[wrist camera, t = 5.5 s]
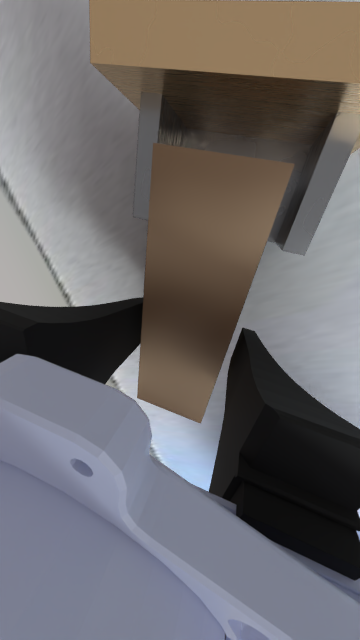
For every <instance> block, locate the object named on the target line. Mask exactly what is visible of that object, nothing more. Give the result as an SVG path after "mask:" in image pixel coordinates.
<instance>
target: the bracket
mask: <svg viewBox="0 0 360 640" xmlns="http://www.w3.org/2000/svg"><path fill="white" fill-rule="evenodd" d="M89 4H90V63H91V64H92V65H93V66H94V67H95V68H96V69H97V70H98V71H99V72H101V73H102V74H103V75H104V76H105V77H106V78H107V79H108V80H109V81H110V82H111V83H112V84H113V85H114V86H115V87H116V88H117V89H118V90H119V91H120V92H121V93H122V94H123V95H125V96H126V97H127V98H128V99H129V100H130V101H131V102H132V103H133V104H134V105H135V106H136V107H137V108H138V109H139V110H140V115H139V131H138V146H137V162H136V177H135V193H134V208H133V217H136V218H140V219H145V220H148V217H149V200H150V184H151V168H152V152H153V143H158V144H165V145H171V146H178V147H185V148H192V149H198V150H205V151H212V152H218V153H225V154H232V155H238V156H245V157H252V158H258V159H265V160H272V161H279V162H285V163H292V164H295V165H294V168H293V171H292V173H291V176H290V179H289V182H288V184H287V187H286V190H285V193H284V195H283V198H282V201H281V204H280V206H279V209H278V212H277V215H276V217H275V220H274V223H273V226H272V228H271V231H270V234H269V237H268V239H267V241H270V242H275V243H276V244H277V245H278V246H279V247H280V248H281V249H282V250H283V251H287V252H291V253H296V254H300V255H305V253H306V251H307V249H308V247H309V244H310V242H311V240H312V238H313V235H314V233H315V231H316V229H317V227H318V224H319V222H320V220H321V218H322V215H323V213H324V211H325V209H326V207H327V204H328V202H329V200H330V198H331V196H332V193H333V191H334V189H335V187H336V184H337V182H338V180H339V178H340V176H341V173H342V171H343V169H344V167H345V164H346V162H347V160H348V158H349V156H350V154H351V153H353V152H354V151H356V150H357V149H359V148H360V2H310V1H221V0H89Z"/></svg>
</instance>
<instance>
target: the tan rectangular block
mask: <svg viewBox="0 0 360 640" xmlns="http://www.w3.org/2000/svg"><path fill="white" fill-rule="evenodd" d="M294 165H295V164H292V163H285V162H279V161H272V160H265V159H258V158H252V157H245V156H238V155H232V154H225V153H218V152H212V151H205V150H198V149H192V148H185V147H178V146H171V145H165V144H158V143H153V152H152V168H151V184H150V200H149V217H148V233H147V249H146V265H145V281H144V297H143V313H142V329H141V345H140V361H139V377H138V394H137V398H139V399H141V400H144V401H146V402H149V403H151V404H153V405H156V406H158V407H161V408H163V409H166V410H168V411H171V412H173V413H176V414H178V415H181V416H183V417H186V418H188V419H191V420H193V421H196V422H198V423H201V421H202V418H203V416H204V413H205V410H206V407H207V405H208V402H209V399H210V396H211V394H212V391H213V388H214V385H215V383H216V380H217V377H218V374H219V372H220V369H221V366H222V363H223V361H224V358H225V355H226V352H227V350H228V347H229V344H230V341H231V339H232V336H233V333H234V330H235V328H236V325H237V322H238V319H239V317H240V314H241V311H242V308H243V305H244V303H245V300H246V297H247V294H248V292H249V289H250V286H251V283H252V281H253V278H254V275H255V272H256V270H257V267H258V264H259V261H260V259H261V256H262V253H263V250H264V248H265V245H266V242H267V239H268V237H269V234H270V231H271V228H272V226H273V223H274V220H275V217H276V215H277V212H278V209H279V206H280V204H281V201H282V198H283V195H284V193H285V190H286V187H287V184H288V182H289V179H290V176H291V173H292V171H293V168H294Z"/></svg>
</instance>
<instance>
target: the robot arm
mask: <svg viewBox="0 0 360 640" xmlns="http://www.w3.org/2000/svg"><path fill="white" fill-rule="evenodd" d="M142 313H143V298H133V299H128V300H123V301H118V302H112V303H106V304H100V305H92V306H80V307H43V306H28V305H20V304H12V303H4V302H0V640H360V429H359V428H357V427H355V426H354V425H352V424H351V423H349V422H347V421H346V420H344V419H343V418H341V417H340V416H338V415H337V414H335V413H334V412H332V411H331V410H329V409H328V408H327V407H325V406H324V405H323V404H321V403H320V402H318V401H317V400H316V399H315V398H313V397H312V396H311V395H309V394H308V393H307V392H306V391H305V390H304V389H302V388H301V387H300V386H299V385H298V384H297V383H296V382H295V381H293V380H292V379H291V378H290V377H289V376H288V375H287V374H286V373H285V372H284V370H283V369H282V368H281V367H280V366H279V365H278V364H277V362H276V361H275V360H274V359H273V358H272V356H271V355H270V354H269V352H268V351H267V349H266V348H265V347H264V345H263V344H262V342H261V340H260V339H259V337H258V336H257V334H256V333H255V331H252V330H249V329H245V328H242V331H241V333H240V336H239V339H238V341H237V344H236V347H235V349H234V352H233V355H232V357H231V361H230V366H229V370H228V377H227V390H226V402H225V413H224V420H223V425H222V430H221V436H220V441H219V446H218V451H217V456H216V460H215V465H214V470H213V475H212V479H211V484H210V488H209V492H208V491H206V490H203V489H201V488H199V487H197V486H195V485H193V484H191V483H189V482H188V481H186V480H185V479H184V478H182V477H181V476H179V475H178V474H177V473H175V472H174V471H172V470H171V469H169V468H168V467H167V466H165V465H164V464H162V463H161V462H160V461H158V460H157V459H155V458H154V457H153V456H151V455H150V454H149V449H150V444H151V438H152V433H151V428H150V423H149V419H148V417H147V415H146V414H145V413H144V411H143V410H142V409H141V407H140V406H139V405H138V404H137V402H136V401H135V400H133V399H132V398H130V397H129V396H127V395H125V394H124V393H122V392H121V391H119V390H117V389H115V388H112V387H110V386H108V385H105V384H106V382H107V381H108V380H109V378H110V377H111V375H112V374H113V373H114V372H115V371H116V369H117V368H118V367H119V366H120V365H121V364H122V363H123V362H124V361H125V360H126V359H127V357H128V356H129V355H130V354H131V353H132V352H133V351H134V350H135V349H136V348H137V347H138V346H139V344H140V343H141V329H142Z"/></svg>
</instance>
